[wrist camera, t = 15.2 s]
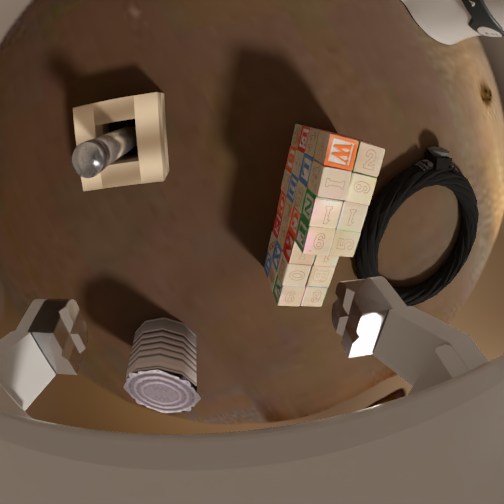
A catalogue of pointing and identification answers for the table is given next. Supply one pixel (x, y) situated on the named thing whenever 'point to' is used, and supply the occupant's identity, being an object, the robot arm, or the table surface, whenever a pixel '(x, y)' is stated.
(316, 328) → the table surface
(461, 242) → the cable lock
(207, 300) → the table surface
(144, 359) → the can
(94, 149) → the silver metal rod
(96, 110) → the light wooden square frame
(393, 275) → the table surface
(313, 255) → the stack of blocks
